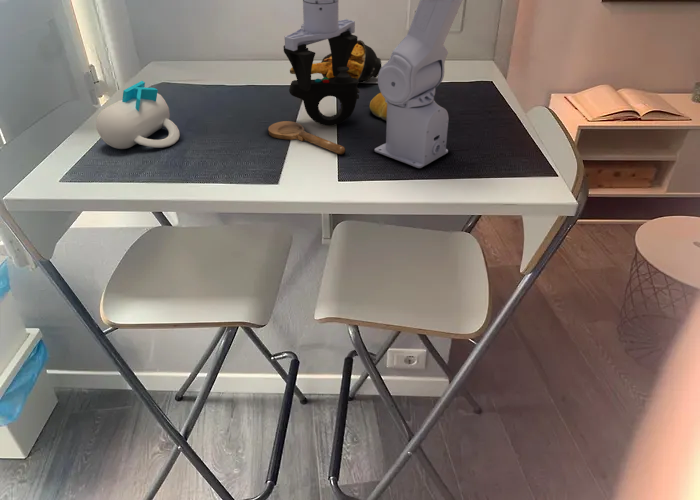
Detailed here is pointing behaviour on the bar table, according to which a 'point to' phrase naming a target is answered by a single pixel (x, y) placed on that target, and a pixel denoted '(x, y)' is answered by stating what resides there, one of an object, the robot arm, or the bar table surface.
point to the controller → (337, 87)
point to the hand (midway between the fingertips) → (321, 82)
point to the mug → (136, 119)
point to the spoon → (301, 135)
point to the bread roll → (379, 106)
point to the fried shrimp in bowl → (352, 64)
